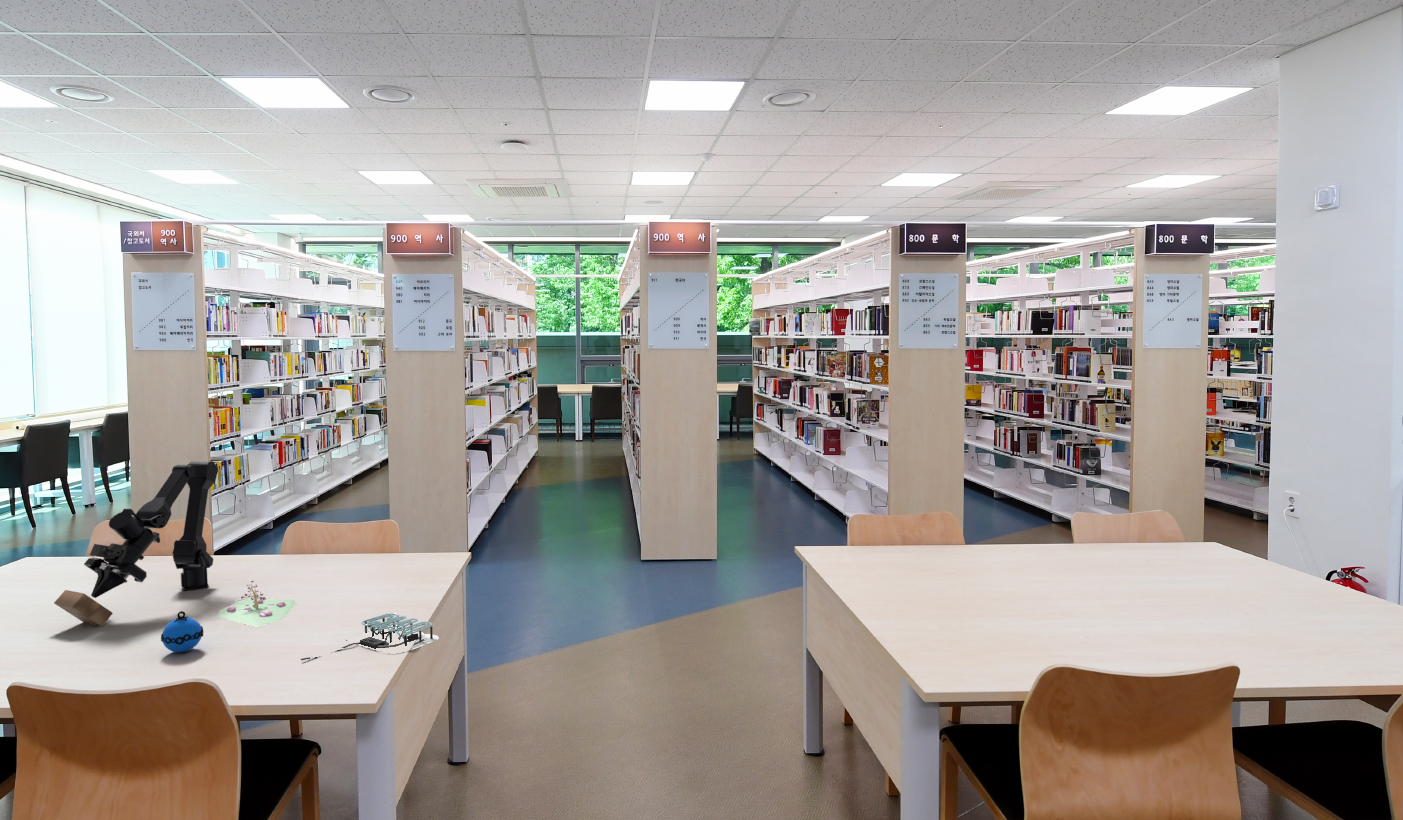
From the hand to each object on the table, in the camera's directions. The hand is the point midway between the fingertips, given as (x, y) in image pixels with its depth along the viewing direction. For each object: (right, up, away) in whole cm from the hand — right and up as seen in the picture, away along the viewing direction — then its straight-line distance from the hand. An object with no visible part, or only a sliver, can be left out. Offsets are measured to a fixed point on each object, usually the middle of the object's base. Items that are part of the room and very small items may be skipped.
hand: (93, 597), depth 218 cm
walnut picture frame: (0, -6, +1) cm, 6 cm away
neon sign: (+81, -9, -17) cm, 83 cm away
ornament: (+37, -9, -19) cm, 43 cm away
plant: (+39, -8, +10) cm, 41 cm away
